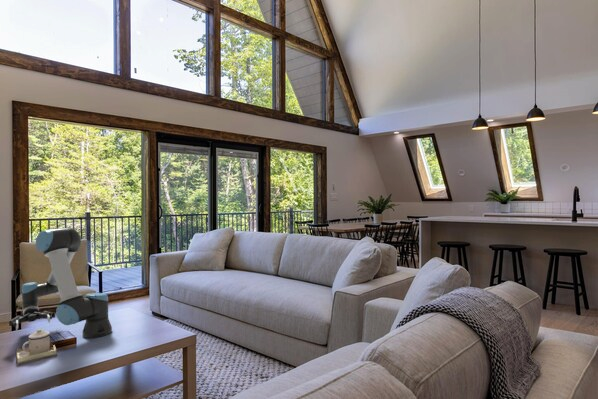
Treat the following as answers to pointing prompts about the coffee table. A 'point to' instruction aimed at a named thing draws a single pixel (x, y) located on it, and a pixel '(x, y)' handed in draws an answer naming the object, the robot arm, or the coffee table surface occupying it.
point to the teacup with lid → (38, 342)
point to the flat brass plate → (23, 353)
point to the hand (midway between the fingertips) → (33, 322)
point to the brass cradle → (36, 355)
